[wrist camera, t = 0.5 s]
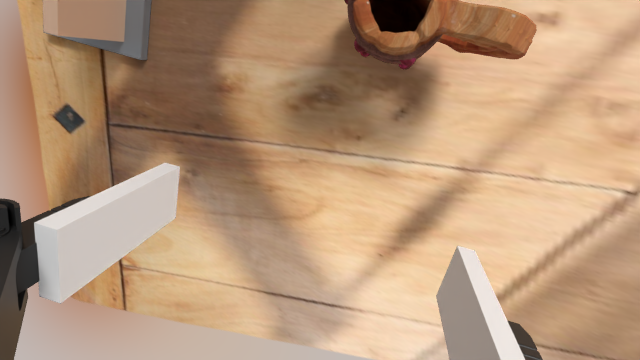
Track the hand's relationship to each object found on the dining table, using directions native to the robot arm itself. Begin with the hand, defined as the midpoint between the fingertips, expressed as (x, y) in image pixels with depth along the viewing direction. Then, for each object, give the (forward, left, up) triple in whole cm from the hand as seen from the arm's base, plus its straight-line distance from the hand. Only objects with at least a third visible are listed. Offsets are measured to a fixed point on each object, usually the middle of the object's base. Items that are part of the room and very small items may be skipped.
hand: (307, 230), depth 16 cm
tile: (-7, -30, -26) cm, 40 cm away
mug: (-12, +4, -27) cm, 30 cm away
